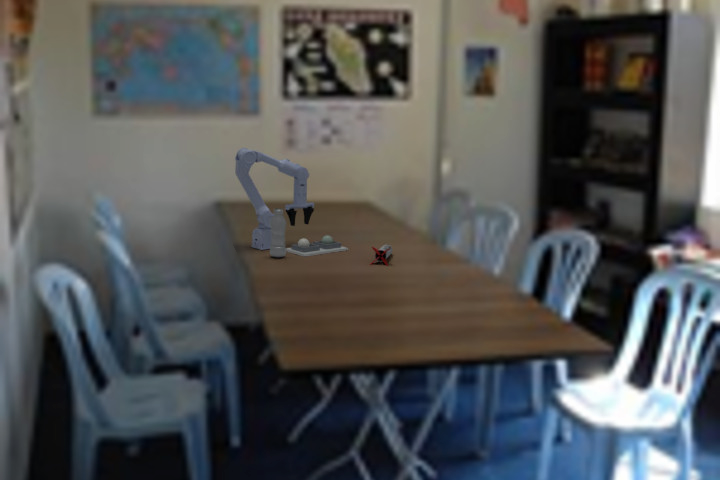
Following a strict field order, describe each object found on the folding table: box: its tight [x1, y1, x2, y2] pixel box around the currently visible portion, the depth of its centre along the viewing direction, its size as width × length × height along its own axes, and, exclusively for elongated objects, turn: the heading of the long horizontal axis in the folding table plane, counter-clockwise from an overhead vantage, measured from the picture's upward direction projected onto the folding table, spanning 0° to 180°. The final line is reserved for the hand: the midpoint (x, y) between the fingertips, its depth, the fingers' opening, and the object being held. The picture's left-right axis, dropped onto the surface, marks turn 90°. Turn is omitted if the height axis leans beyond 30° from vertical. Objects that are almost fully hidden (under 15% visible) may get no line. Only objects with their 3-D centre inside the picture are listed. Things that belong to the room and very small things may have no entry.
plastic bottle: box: [269, 208, 287, 259], centre depth 352 cm, size 6×7×20 cm
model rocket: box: [369, 244, 393, 267], centre depth 356 cm, size 11×23×10 cm
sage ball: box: [321, 235, 334, 244], centre depth 373 cm, size 5×5×5 cm
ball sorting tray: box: [286, 240, 349, 258], centre depth 369 cm, size 24×14×3 cm, turn 132°
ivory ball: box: [297, 237, 310, 247], centre depth 364 cm, size 5×5×5 cm
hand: (299, 224), depth 376 cm, fingers open, 7 cm apart
